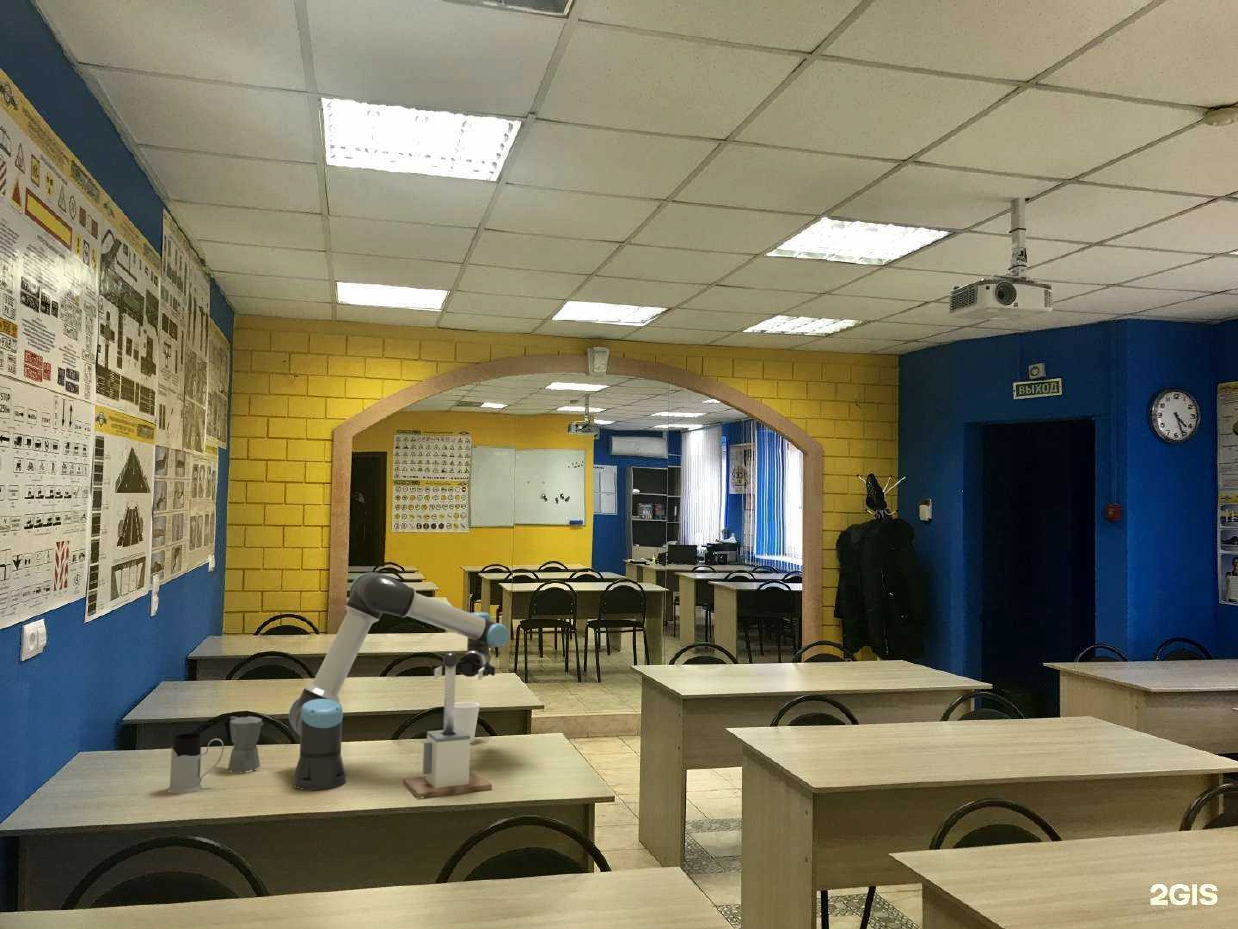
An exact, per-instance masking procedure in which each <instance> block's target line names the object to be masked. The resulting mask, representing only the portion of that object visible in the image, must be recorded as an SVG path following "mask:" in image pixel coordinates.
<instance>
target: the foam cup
mask: <svg viewBox="0 0 1238 929" xmlns="http://www.w3.org/2000/svg"><path fill="white" fill-rule="evenodd" d="M479 712H480V703H477V702H474V701H473V702H472V701H459V702H455V705H454V729H458V728H460V729H461V730H463V731H464V732H466V733H467V734H469V735H470V743H471V744H473V743H474V742H475V737H476V729H477V722H478V716H479ZM472 742H473V743H472Z"/></svg>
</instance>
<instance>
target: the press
mask: <svg viewBox="0 0 1238 929" xmlns="http://www.w3.org/2000/svg"><path fill="white" fill-rule="evenodd" d="M443 730H444V729H439V730H429V731H426V741H424V742H423V760H422V765H423V766H422V774H423V775H425V776H426V780H427V781H428V782H429V783H430V784H431V785H433V786H434V787H435V788H442V787H450V786H458V785H466V784H469V771H470V762H471V761H470V758H471V756H470V755H471V751H470V750H471V744H470V735H469V734H467V733H466V732H464V731H463V730H461V729H460V728H458V729H454V735H446V736H444V735H443Z"/></svg>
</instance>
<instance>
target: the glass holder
mask: <svg viewBox="0 0 1238 929" xmlns="http://www.w3.org/2000/svg"><path fill="white" fill-rule="evenodd" d="M213 741H219V742H221V746H222V749H221V754H220V756H219V757H218V758H219V759H218V760H217V762H216V763H214V765H213V766H212V767H211V768H210V769H209V770H207V771H206V772H205V773H204V774H202V775H201V769H202V766H201V765H202V756H205V755H207V754H208V752H209V746H210V744H212V742H213ZM206 745H207V746H206V752H204V753H202V752H201V749H202V734H201V733H196V732H188V733H181V734H176V735H173V736H172V745H171V755H170V757H171V758H170V778H169V786H168V789H167V792H168V791H170V792H171V793H170V794H173V793H176V794H175V795H180V794H181V795H182V793H185V794H191V793H194V792H193V791H195V792H197V791H200V790H201V789H202V785H201V783H202V779H203V778H204V777H205V776H206V775H207V774H209V773H210V772H211V771H212V770H214V768H216V767H217V766H218V764H219V763H220V761H221V759H222V757H223V755H224V750H225V749H224V748H225V747H224V746H225V745H224V742H223V741H222V739H220V738H213V739H211V740H209V742H208V744H206ZM199 789H200V790H199ZM190 792H191V793H190Z"/></svg>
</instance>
